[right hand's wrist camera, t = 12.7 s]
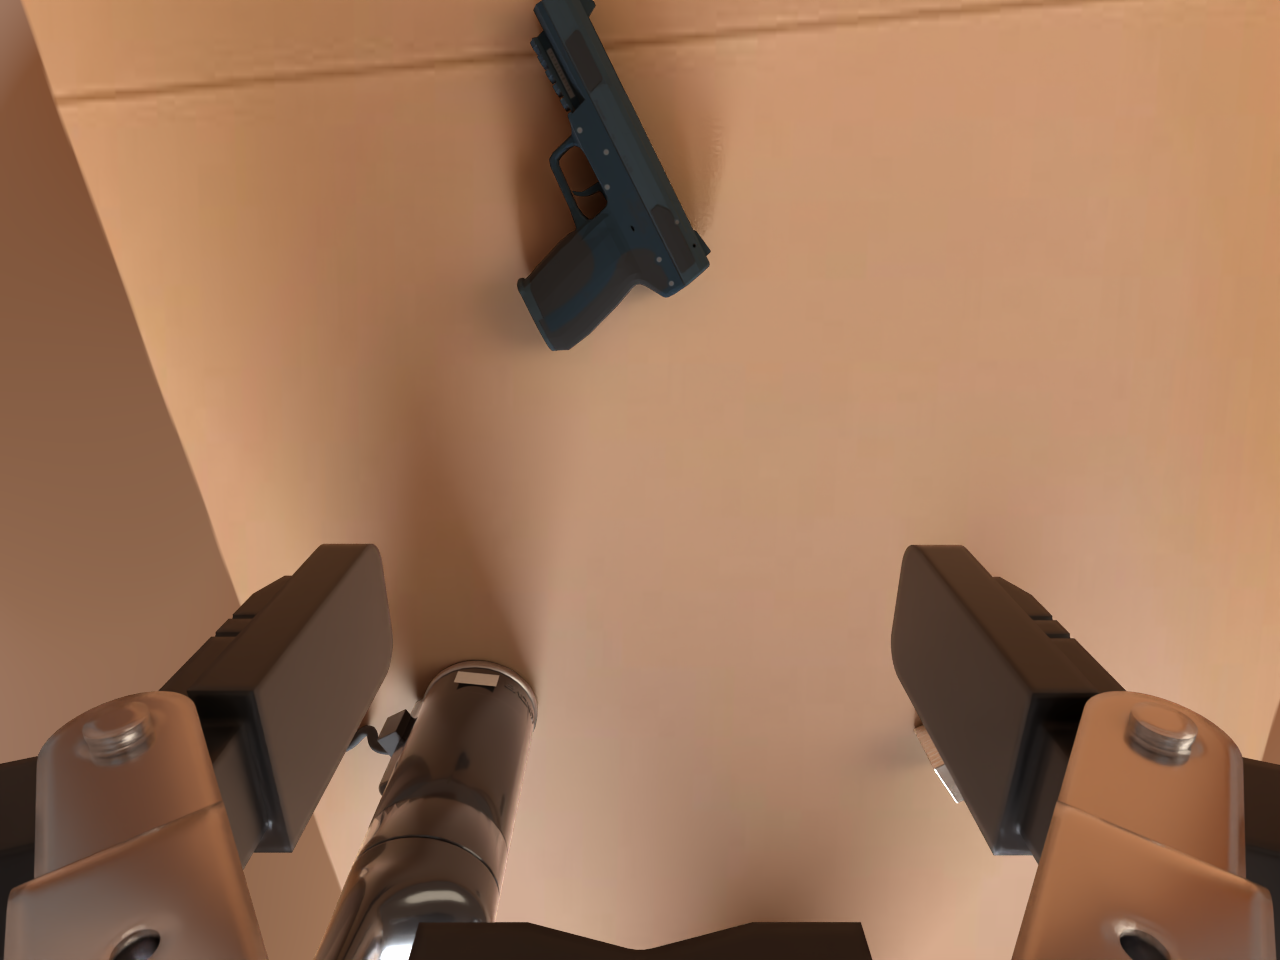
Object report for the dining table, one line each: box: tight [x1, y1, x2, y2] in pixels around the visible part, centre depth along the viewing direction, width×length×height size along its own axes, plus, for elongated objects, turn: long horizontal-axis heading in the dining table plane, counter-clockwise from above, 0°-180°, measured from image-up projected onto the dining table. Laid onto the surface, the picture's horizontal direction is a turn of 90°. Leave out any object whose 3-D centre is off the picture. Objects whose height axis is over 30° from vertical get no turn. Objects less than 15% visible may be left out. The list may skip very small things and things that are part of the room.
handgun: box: [517, 0, 711, 351], centre depth 44 cm, size 3×18×12 cm
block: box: [914, 725, 964, 803], centre depth 59 cm, size 4×4×5 cm
